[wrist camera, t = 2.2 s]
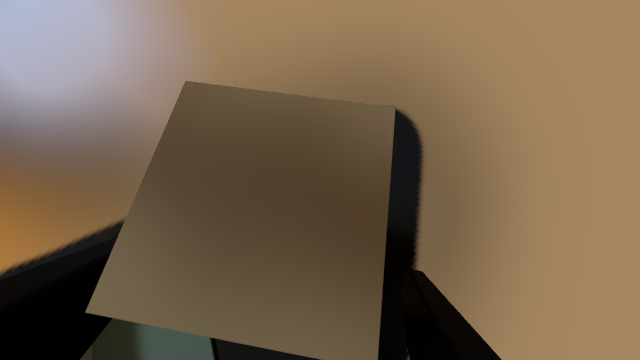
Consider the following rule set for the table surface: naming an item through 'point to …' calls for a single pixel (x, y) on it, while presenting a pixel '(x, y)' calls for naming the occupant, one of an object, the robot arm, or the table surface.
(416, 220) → the table surface
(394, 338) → the table surface
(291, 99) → the maple block
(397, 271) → the table surface
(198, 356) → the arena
